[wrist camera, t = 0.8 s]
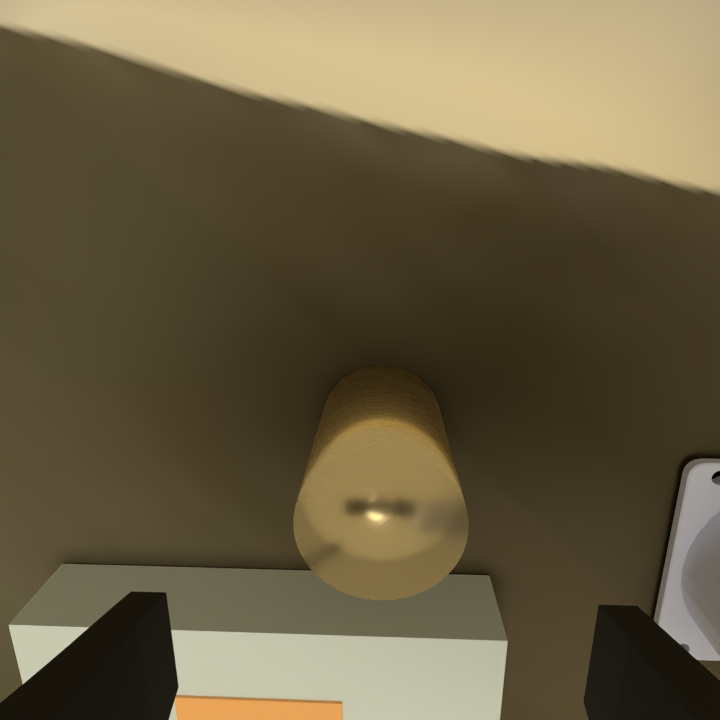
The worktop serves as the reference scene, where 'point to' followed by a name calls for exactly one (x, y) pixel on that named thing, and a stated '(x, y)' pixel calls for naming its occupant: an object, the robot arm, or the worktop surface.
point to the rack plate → (292, 642)
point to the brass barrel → (381, 489)
